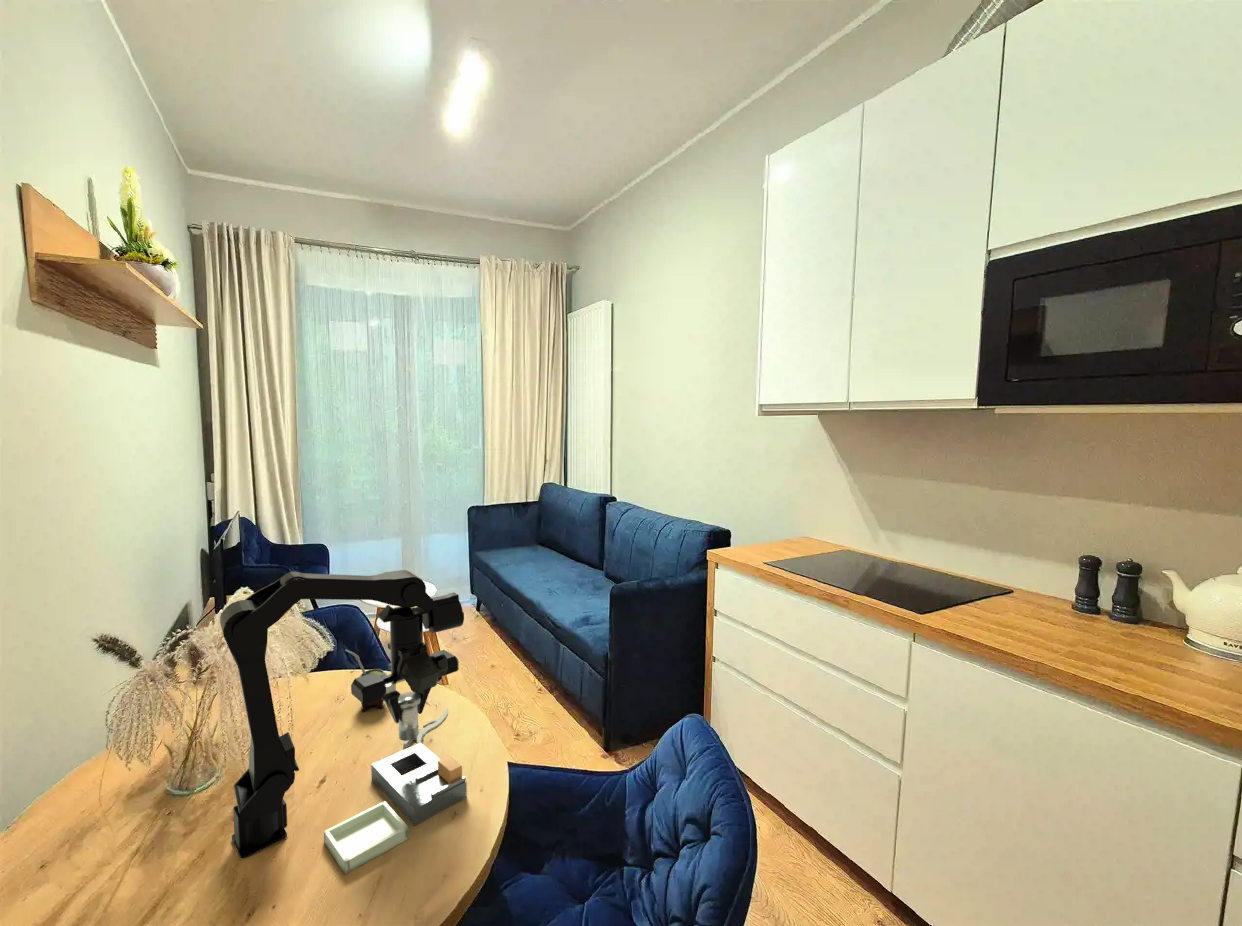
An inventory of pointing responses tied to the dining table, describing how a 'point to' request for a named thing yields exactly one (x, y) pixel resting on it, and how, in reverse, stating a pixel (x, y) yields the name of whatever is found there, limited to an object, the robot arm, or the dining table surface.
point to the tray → (365, 836)
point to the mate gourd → (377, 671)
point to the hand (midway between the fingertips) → (408, 717)
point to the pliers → (426, 729)
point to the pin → (408, 715)
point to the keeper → (449, 769)
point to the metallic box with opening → (417, 783)
